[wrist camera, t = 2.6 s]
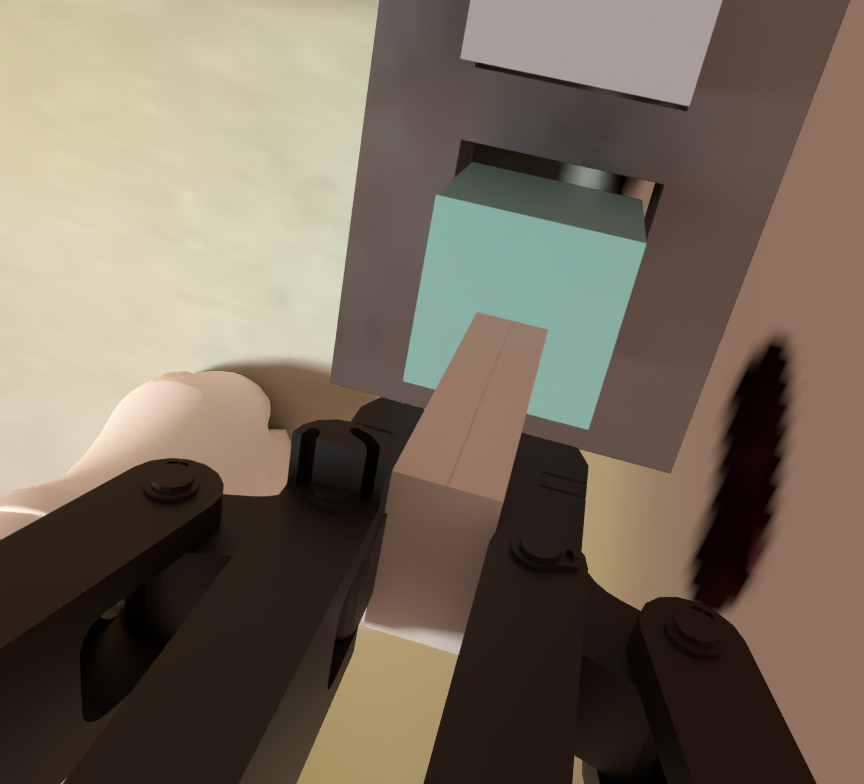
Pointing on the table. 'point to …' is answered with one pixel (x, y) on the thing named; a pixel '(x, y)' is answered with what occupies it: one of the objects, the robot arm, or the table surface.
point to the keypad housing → (594, 148)
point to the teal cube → (529, 279)
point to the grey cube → (597, 42)
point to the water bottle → (172, 442)
